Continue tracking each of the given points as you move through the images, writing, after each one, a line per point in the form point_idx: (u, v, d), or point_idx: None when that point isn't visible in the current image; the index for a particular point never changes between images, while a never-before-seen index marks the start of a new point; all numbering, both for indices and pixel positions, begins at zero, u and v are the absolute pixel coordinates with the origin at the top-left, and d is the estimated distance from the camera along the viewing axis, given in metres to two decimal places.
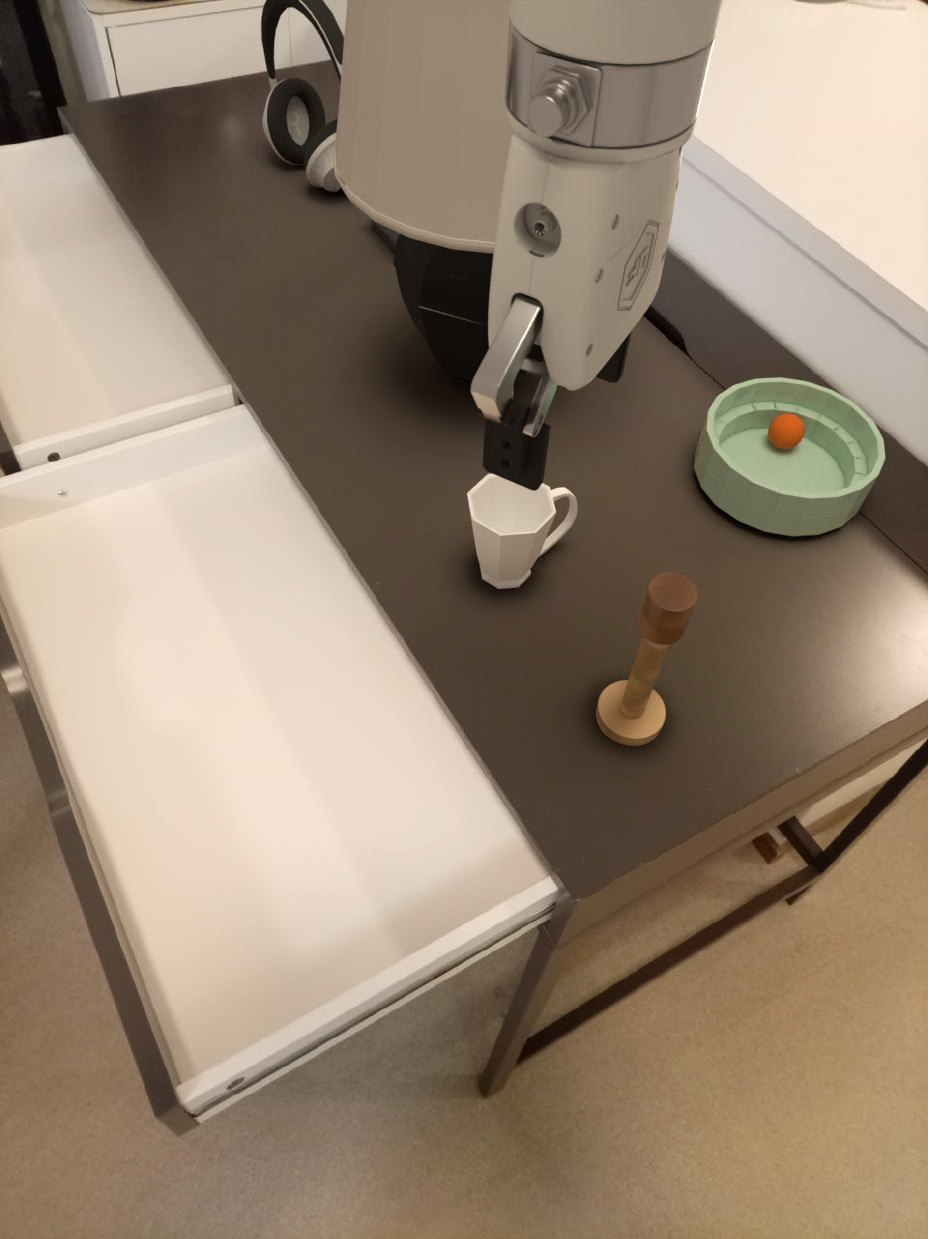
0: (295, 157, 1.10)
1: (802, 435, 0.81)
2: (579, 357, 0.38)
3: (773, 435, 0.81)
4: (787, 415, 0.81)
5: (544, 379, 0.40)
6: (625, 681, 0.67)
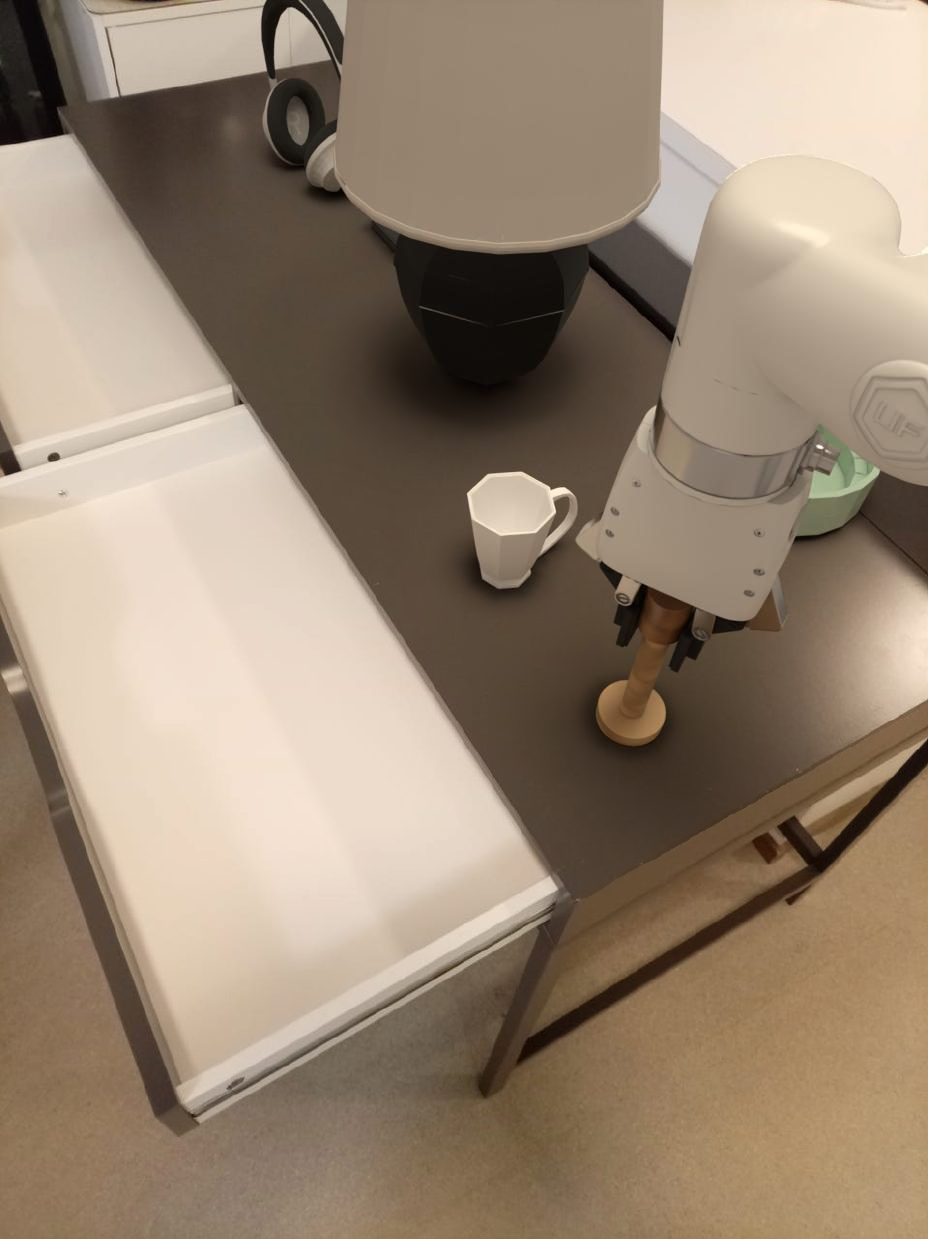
0: (295, 157, 1.10)
1: None
2: None
3: None
4: None
5: None
6: (625, 681, 0.67)
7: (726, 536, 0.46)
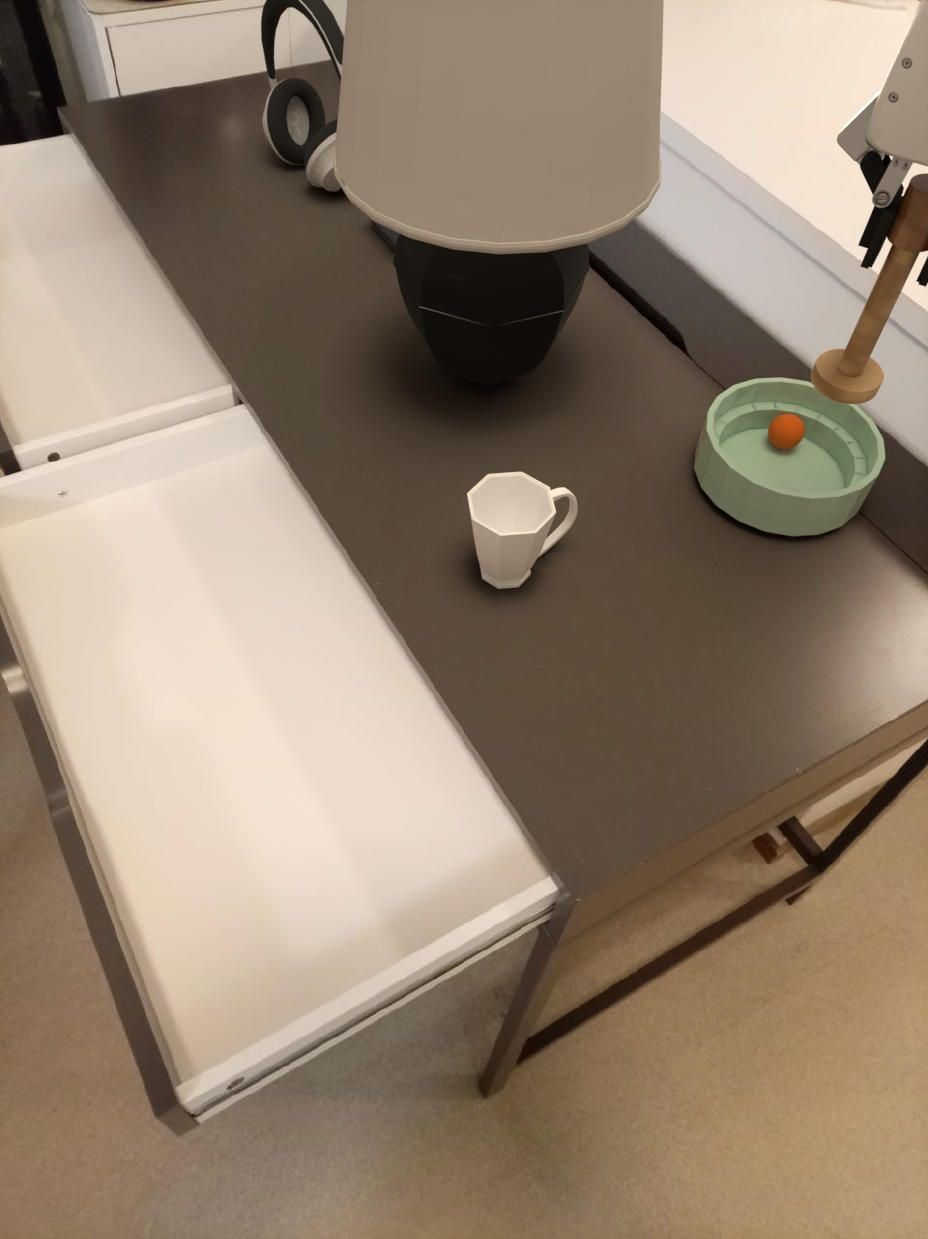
0: (295, 157, 1.10)
1: (802, 435, 0.81)
2: None
3: (773, 435, 0.81)
4: (787, 415, 0.81)
5: None
6: (838, 349, 0.68)
7: None
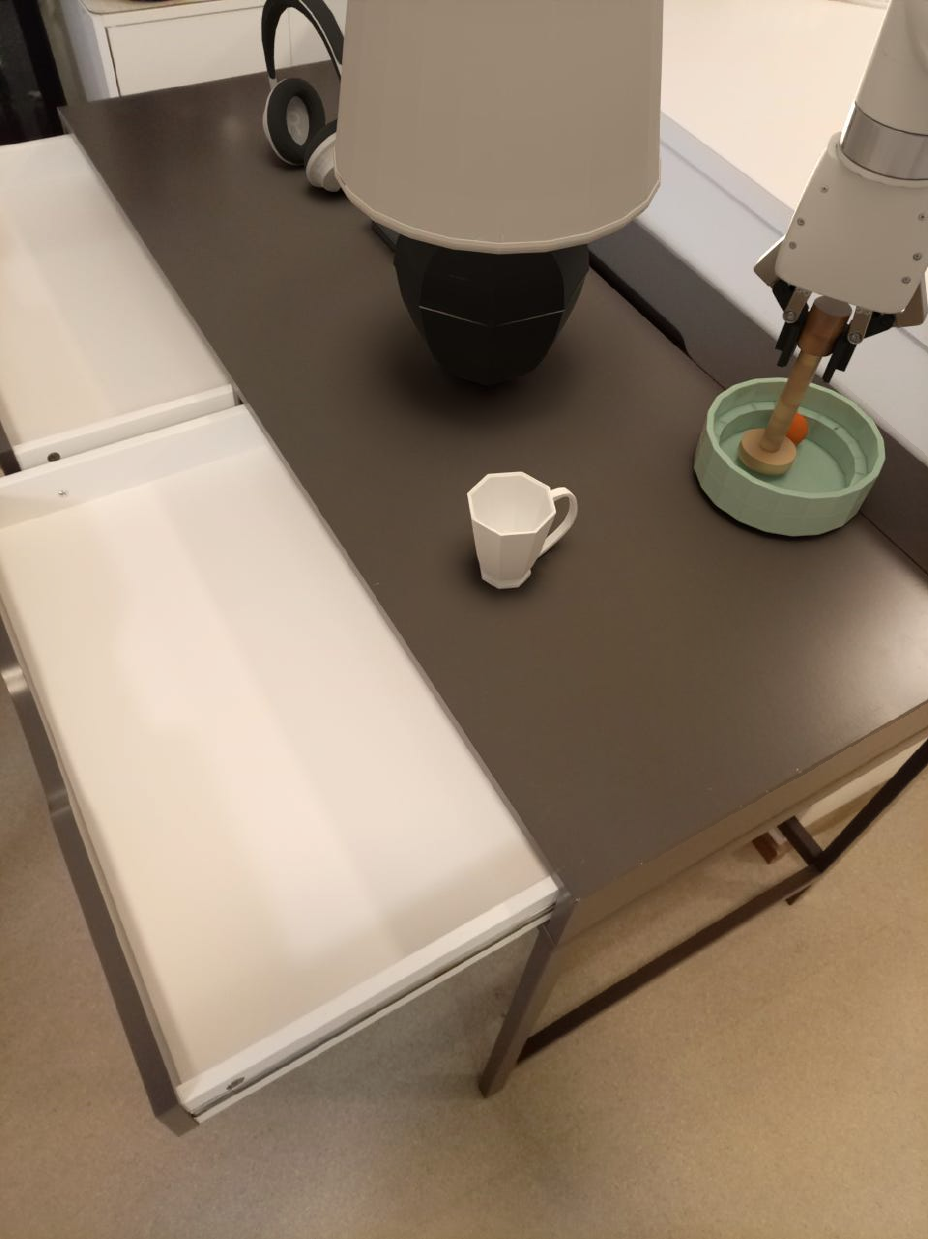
0: (295, 157, 1.10)
1: (806, 432, 0.81)
2: None
3: None
4: None
5: None
6: (761, 429, 0.81)
7: (895, 224, 0.60)
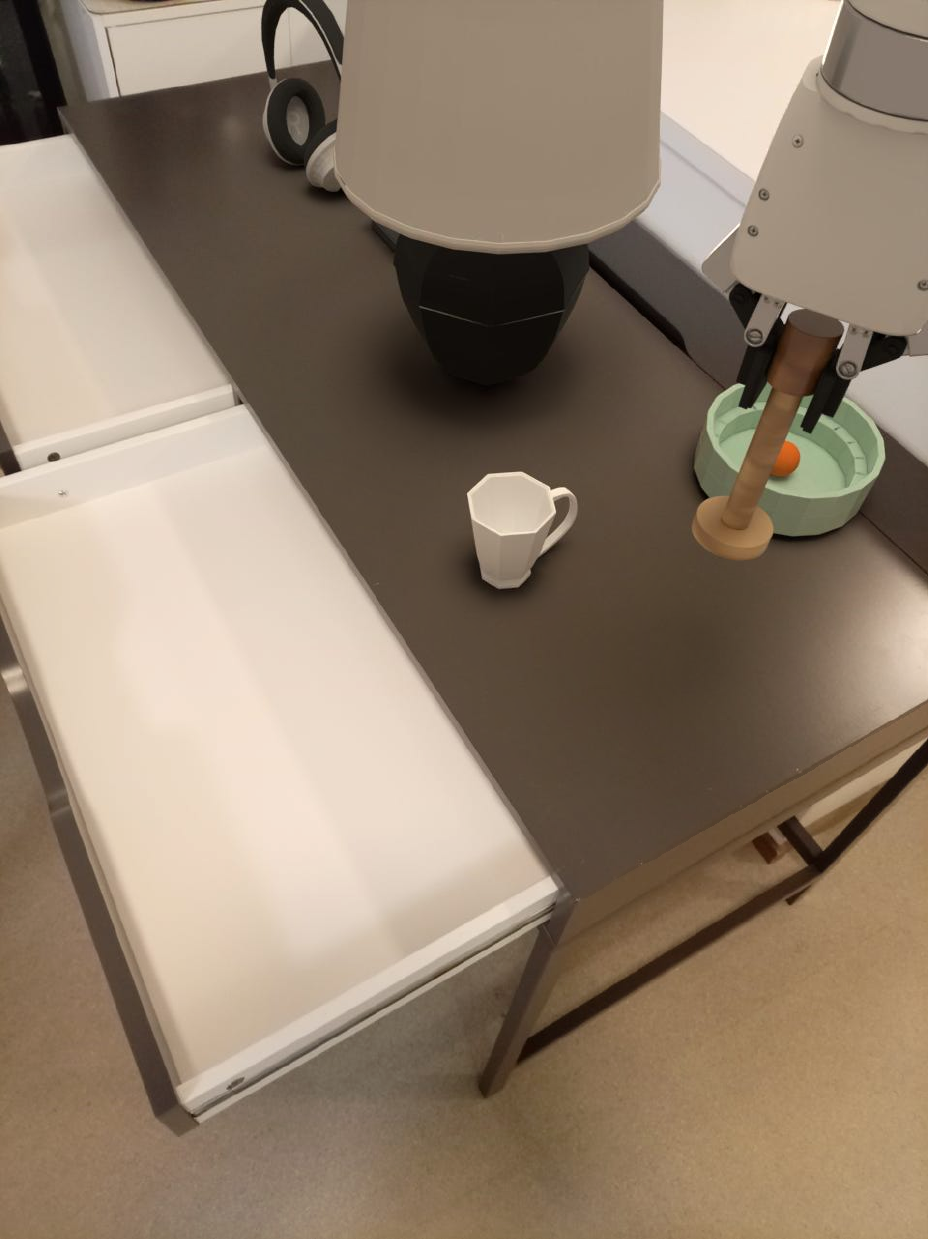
0: (295, 157, 1.10)
1: (795, 469, 0.79)
2: None
3: None
4: None
5: None
6: (726, 497, 0.59)
7: (908, 197, 0.38)
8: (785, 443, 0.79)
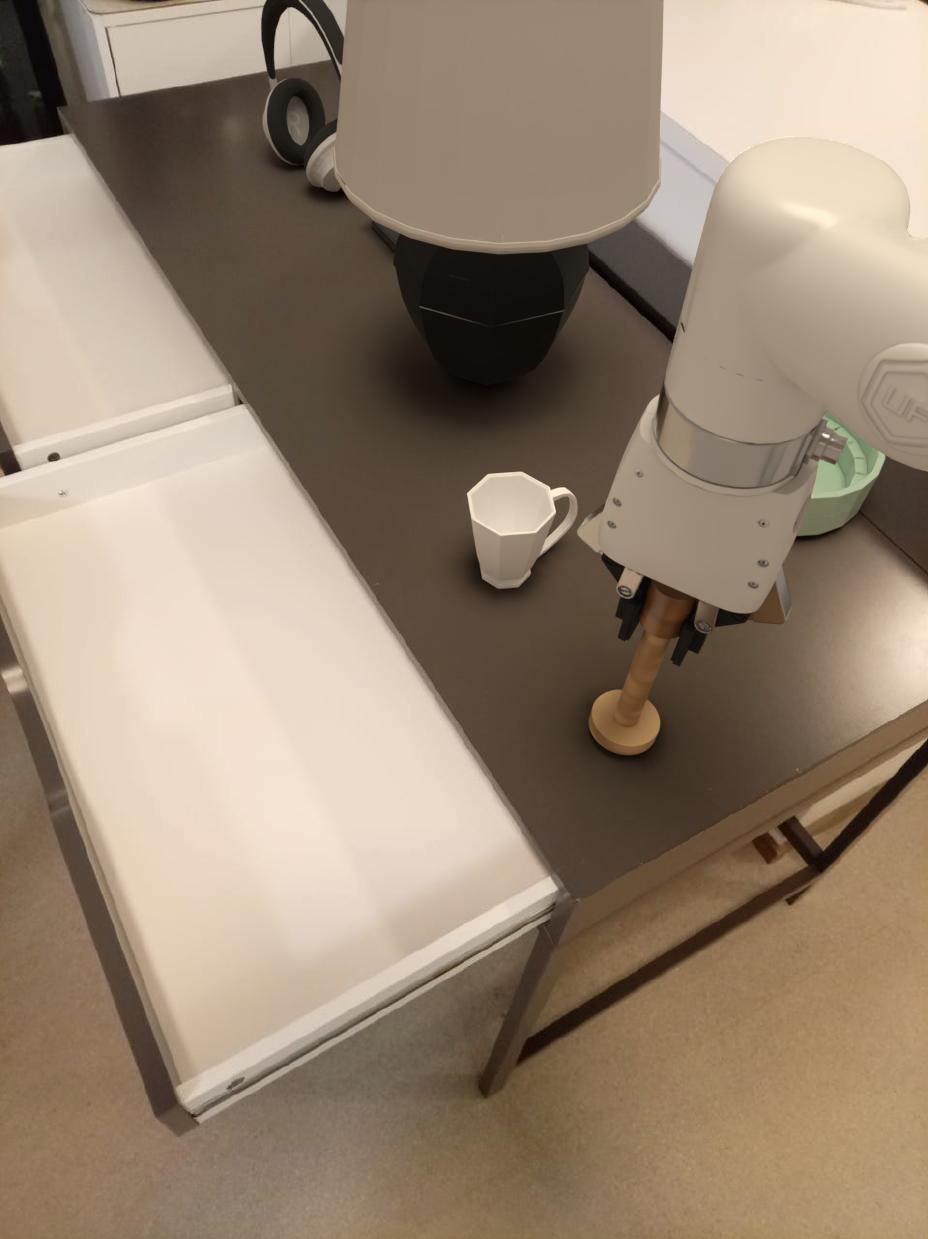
0: (295, 157, 1.10)
1: None
2: None
3: None
4: None
5: None
6: (620, 690, 0.66)
7: (730, 527, 0.45)
8: None
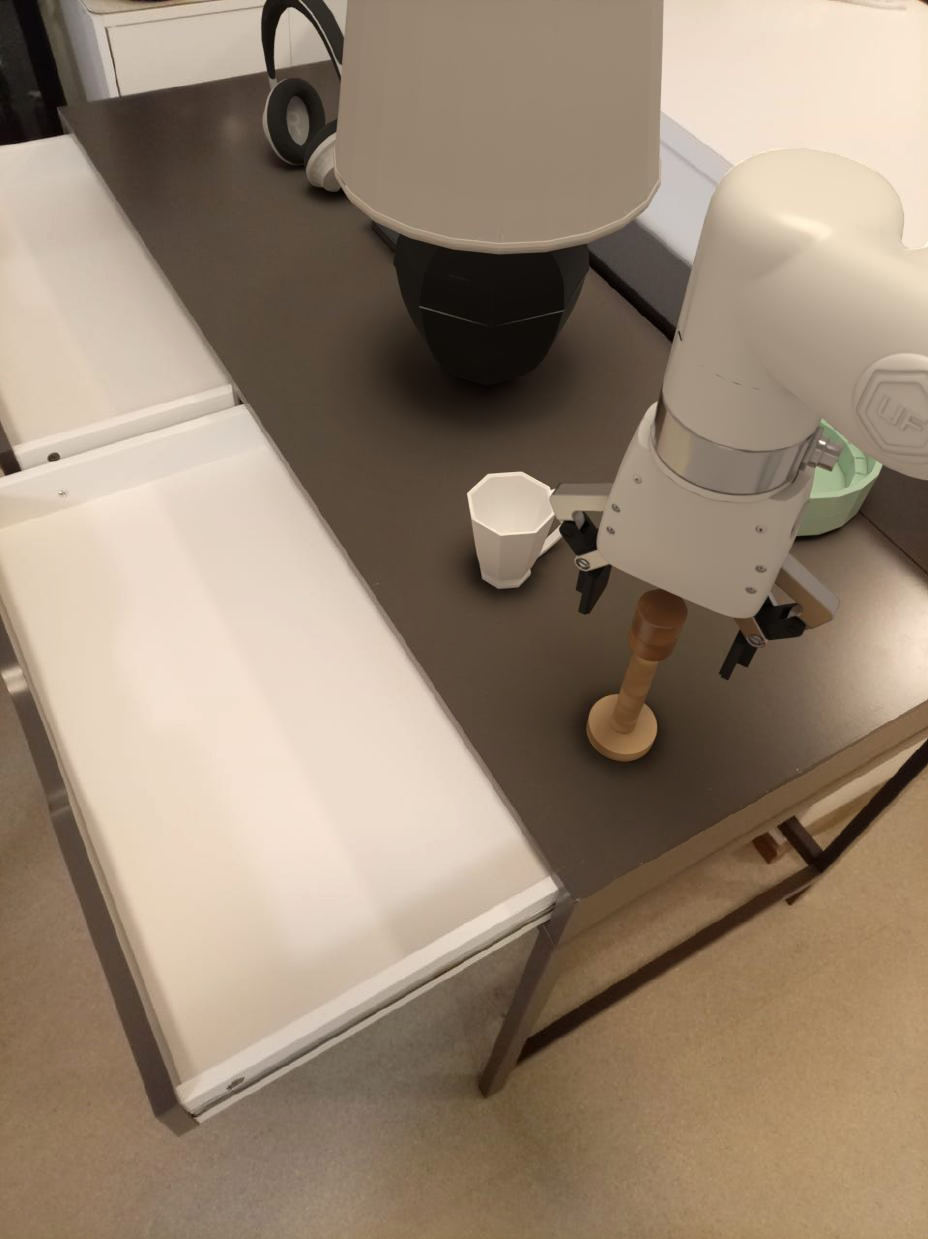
0: (295, 157, 1.10)
1: None
2: None
3: None
4: None
5: None
6: (617, 695, 0.66)
7: (728, 533, 0.45)
8: None
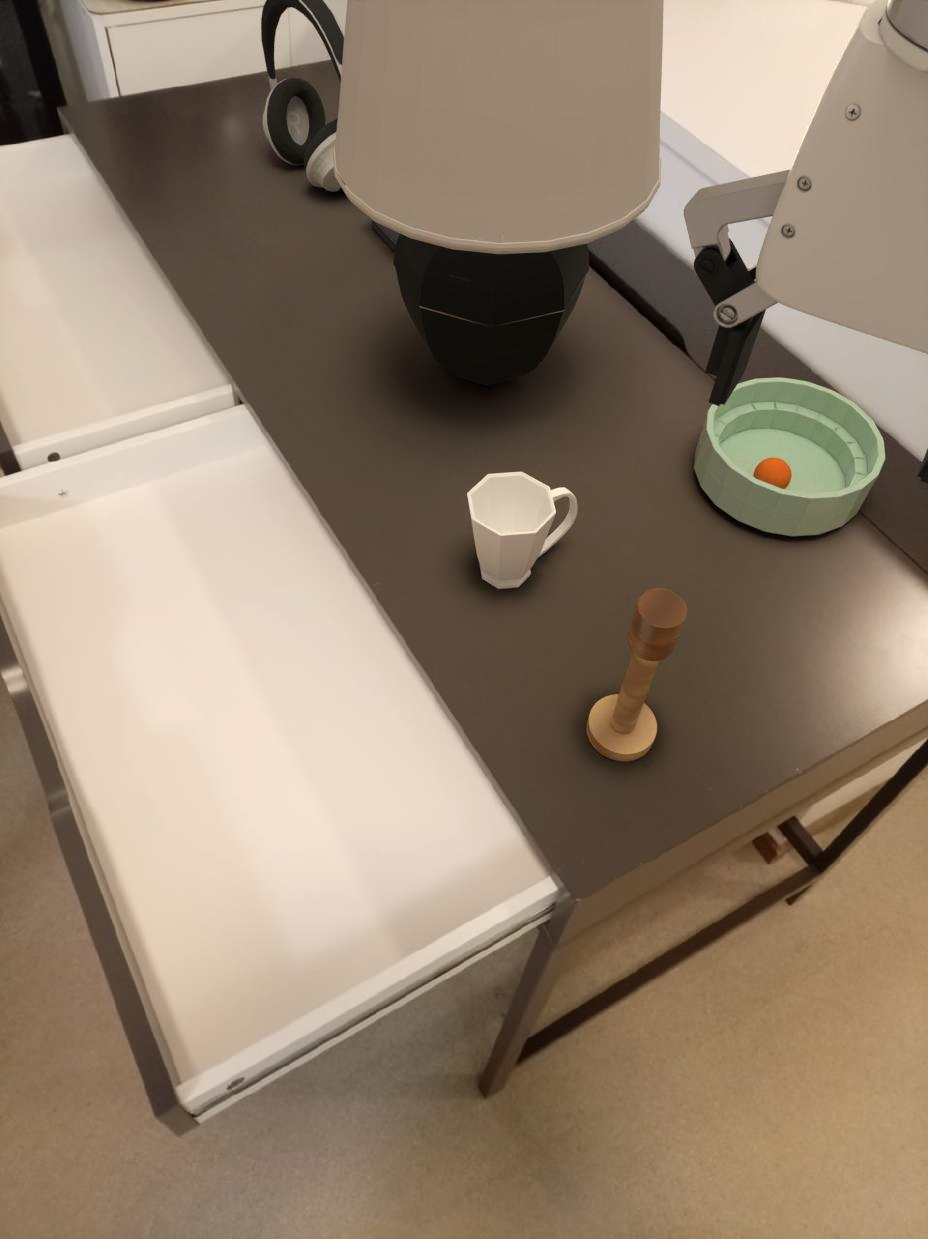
0: (295, 157, 1.10)
1: None
2: None
3: None
4: None
5: None
6: (617, 695, 0.66)
7: None
8: None
